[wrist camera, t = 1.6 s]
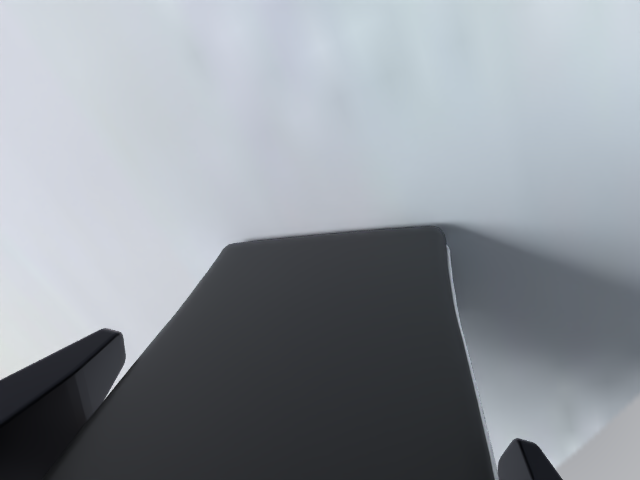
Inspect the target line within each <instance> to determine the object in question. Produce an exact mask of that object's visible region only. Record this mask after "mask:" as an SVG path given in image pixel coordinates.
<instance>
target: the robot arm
mask: <svg viewBox="0 0 640 480" xmlns="http://www.w3.org/2000/svg"><path fill="white" fill-rule="evenodd" d="M125 359H126V353H125V346H124V339H123V335H122V333H121V332H119V331H115V330H111V329H107V328H104V329H101V330H98V331H96V332H95V333H93V334H91V335H89V336H87V337H85V338H83V339H81V340H79V341H77V342H75V343H73V344H71V345H69V346H67V347H65V348H63V349H61V350H59V351H57V352H55V353H53V354H51V355H49V356H47V357H45V358H43V359H41V360H39V361H37V362H35V363H33V364H31V365H29V366H27V367H25V368H23V369H21V370H19V371H17V372H15V373H13V374H11V375H9V376H7V377H5V378H3V379H2V380H0V480H42V478H43V477H44V476H45V474H46V473H47V472H48V471H49V469H50V468H51V467H52V465H53V464H54V463H55V462H56V460H57V459H58V458H59V457H60V455H61V454H62V453H63V451H64V450H65V449H66V448H67V446H68V445H69V444H70V443H71V441H72V440H73V439H74V437H75V436H76V435H77V434H78V432H79V431H80V430H81V428H82V427H83V426H84V425H85V423H86V422H87V421H88V420H89V418H90V417H91V416H92V415H93V413H94V412H95V411H96V410H97V409H98V407H99V406H100V405H101V404H102V402H103V401H104V399H105V397H106V396H107V394H108V392H109V390H110V389H111V387H112V385H113V383H114V381H115V380H116V378H117V376H118V374H119V373H120V371H121V369H122V367H123V365H124V363H125ZM498 477H499V480H563V479H562V478H561V477H560V475H559V474H558V472H557V471H556V470H555V468H554V467H553V466H552V464H551V463H550V461H549V460H548V459H547V457H546V456H545V455H544V453H543V452H542V450H541V449H540V448H539V447H538V446H537V445H536V444H535V443H533V442H530V441H526V440H523V439H519V438H516V439H514V440H513V441H512V442H511V444H510V445H509V446H508V448H507V449H506V450H505V452H504V453H503V455H502V456H501V458H500V460H499V463H498Z"/></svg>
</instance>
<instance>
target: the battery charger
mask: <svg viewBox="0 0 640 480" xmlns="http://www.w3.org/2000/svg"><path fill="white" fill-rule="evenodd" d="M42 480H499V477H498V472H497V467H496V463H495V459H494V455H493V450H492V446H491V442H490V438H489V434H488V429H487V425H486V421H485V417H484V413H483V409H482V405H481V401H480V396H479V392H478V388H477V384H476V380H475V376H474V372H473V368H472V364H471V360H470V356H469V353H468V349H467V345H466V342H465V338H464V334H463V331H462V327H461V322H460V317H459V312H458V307H457V302H456V294H455V290H454V284H453V277H452V267H451V258H450V249H449V247H448V245H446V239H445V235H444V233H443V232H442V230H441V229H440V228H438V227H435V226H425V227H411V228H397V229H383V230H371V231H359V232H346V233H334V234H322V235H312V236H301V237H291V238H280V239H270V240H260V241H251V242H242V243H233V244H229V245H228V246H226V247H225V248H224V249H223V250H222V252H221V253H220V255H219V256H218V258H217V259H216V260H215V262H214V263H213V265H212V266H211V267H210V269H209V270H208V272H207V273H206V274H205V276H204V277H203V278H202V280H201V281H200V282H199V284H198V285H197V286H196V288H195V289H194V290H193V292H192V293H191V294H190V296H189V297H188V298H187V300H186V301H185V302H184V303H183V305H182V306H181V307H180V309H179V310H178V311H177V312H176V314H175V315H174V316H173V317H172V319H171V320H170V321H169V322H168V323H167V324H166V326H165V327H164V328H163V329H162V330H161V332H160V333H159V334H158V335H157V336H156V338H155V339H154V340H153V341H152V342H151V343H150V345H149V346H148V347H147V348H146V350H145V351H144V352H143V353H142V355H141V356H140V357H139V358H138V359H137V361H136V362H135V363H134V364H133V365H132V367H131V368H130V369H129V370H128V372H127V373H126V374H125V375H124V377H123V378H122V379H121V380H120V381H119V383H118V384H117V385H116V386H115V388H114V389H113V390H112V391H111V392H110V394H109V395H108V396H107V397H106V399H105V400H104V401H103V402H102V404H101V405H100V406H99V407H98V409H97V410H96V411H95V412H94V413H93V415H92V416H91V417H90V418H89V420H88V421H87V422H86V423H85V425H84V426H83V427H82V428H81V430H80V431H79V432H78V434H77V435H76V436H75V437H74V439H73V440H72V441H71V443H70V444H69V445H68V446H67V448H66V449H65V450H64V451H63V453H62V454H61V455H60V457H59V458H58V459H57V460H56V462H55V463H54V464H53V465H52V467H51V468H50V469H49V471H48V472H47V473H46V474H45V476H44V477H43V478H42Z"/></svg>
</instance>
